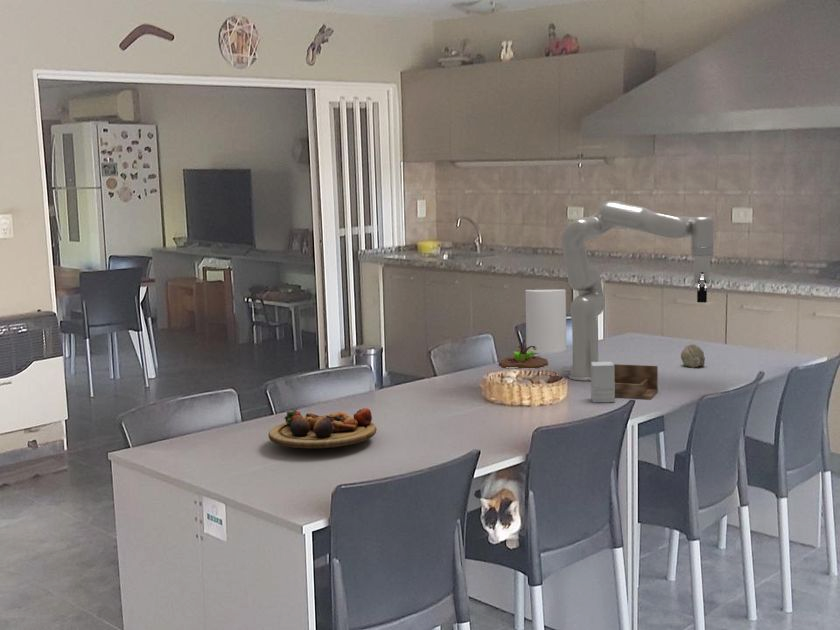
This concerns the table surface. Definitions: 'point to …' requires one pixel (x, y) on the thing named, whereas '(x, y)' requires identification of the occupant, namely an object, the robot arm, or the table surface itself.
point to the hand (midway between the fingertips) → (701, 300)
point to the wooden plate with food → (323, 429)
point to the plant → (524, 359)
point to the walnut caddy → (636, 381)
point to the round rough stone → (692, 356)
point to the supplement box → (602, 382)
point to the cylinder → (546, 320)
